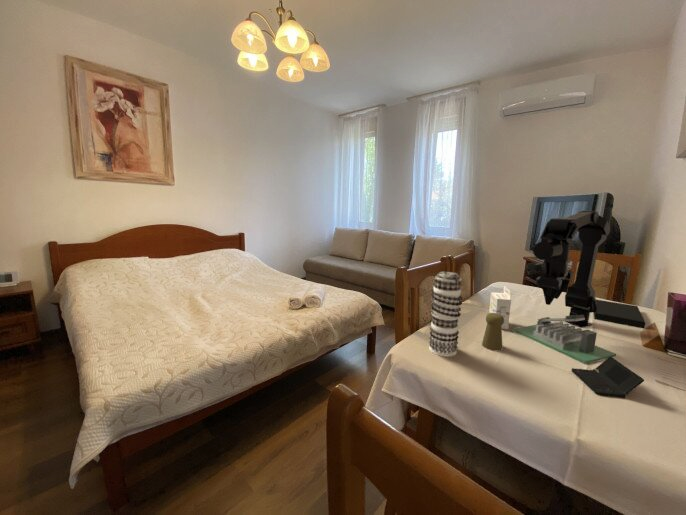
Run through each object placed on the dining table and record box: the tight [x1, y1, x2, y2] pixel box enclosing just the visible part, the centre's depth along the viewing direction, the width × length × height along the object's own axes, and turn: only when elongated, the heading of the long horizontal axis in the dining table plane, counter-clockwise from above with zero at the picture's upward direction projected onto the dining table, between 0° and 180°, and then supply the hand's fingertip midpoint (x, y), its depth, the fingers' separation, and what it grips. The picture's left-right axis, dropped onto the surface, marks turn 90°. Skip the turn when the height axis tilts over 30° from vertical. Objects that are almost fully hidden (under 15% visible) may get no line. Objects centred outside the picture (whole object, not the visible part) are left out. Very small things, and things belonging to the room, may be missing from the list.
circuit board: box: [512, 324, 617, 365], centre depth 97 cm, size 14×24×1 cm, turn 19°
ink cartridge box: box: [488, 285, 512, 330], centre depth 110 cm, size 9×5×15 cm, turn 168°
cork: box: [481, 313, 504, 351], centre depth 93 cm, size 6×6×11 cm
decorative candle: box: [428, 271, 463, 358], centre depth 89 cm, size 9×9×25 cm
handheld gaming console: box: [571, 357, 645, 399], centre depth 74 cm, size 12×7×10 cm
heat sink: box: [533, 321, 598, 353], centre depth 96 cm, size 12×16×6 cm
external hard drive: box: [593, 299, 646, 329], centre depth 121 cm, size 14×23×3 cm, turn 140°
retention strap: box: [537, 315, 585, 322], centre depth 97 cm, size 4×12×2 cm, turn 19°
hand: (551, 301), depth 98 cm, fingers open, 9 cm apart
